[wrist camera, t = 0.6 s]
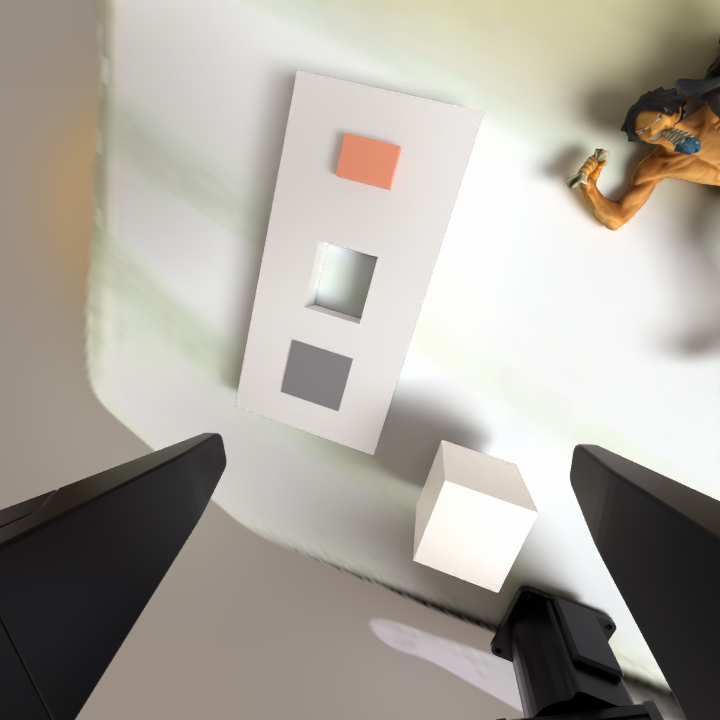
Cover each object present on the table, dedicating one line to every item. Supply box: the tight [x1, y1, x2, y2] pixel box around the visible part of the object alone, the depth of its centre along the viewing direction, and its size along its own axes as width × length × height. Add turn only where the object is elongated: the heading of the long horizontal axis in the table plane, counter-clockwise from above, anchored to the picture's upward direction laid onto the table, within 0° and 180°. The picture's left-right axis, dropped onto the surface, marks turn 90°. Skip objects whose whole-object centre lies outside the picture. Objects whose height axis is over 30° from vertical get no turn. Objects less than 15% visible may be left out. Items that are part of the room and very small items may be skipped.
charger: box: [413, 440, 538, 593], centre depth 21 cm, size 5×5×6 cm
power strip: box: [235, 70, 484, 455], centre depth 21 cm, size 20×10×3 cm, turn 164°
